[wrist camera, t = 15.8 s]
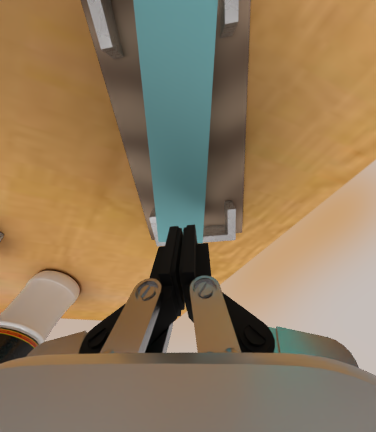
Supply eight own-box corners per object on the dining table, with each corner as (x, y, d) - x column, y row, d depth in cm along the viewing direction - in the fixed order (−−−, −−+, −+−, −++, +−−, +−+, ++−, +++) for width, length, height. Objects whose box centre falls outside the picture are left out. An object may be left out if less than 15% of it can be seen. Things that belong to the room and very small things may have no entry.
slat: (152, 11, 14) (127, -52, 9) (211, 11, 14) (221, -54, 9) (166, 215, 24) (158, 242, 19) (200, 216, 24) (202, 243, 19)
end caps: (93, -20, 13) (73, -48, 11) (231, -54, 12) (239, -91, 10) (160, 235, 26) (157, 246, 24) (231, 229, 25) (235, 239, 23)
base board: (83, -16, 14) (71, -30, 13) (247, -57, 13) (253, -76, 12) (153, 234, 28) (151, 240, 26) (239, 227, 26) (242, 232, 25)
